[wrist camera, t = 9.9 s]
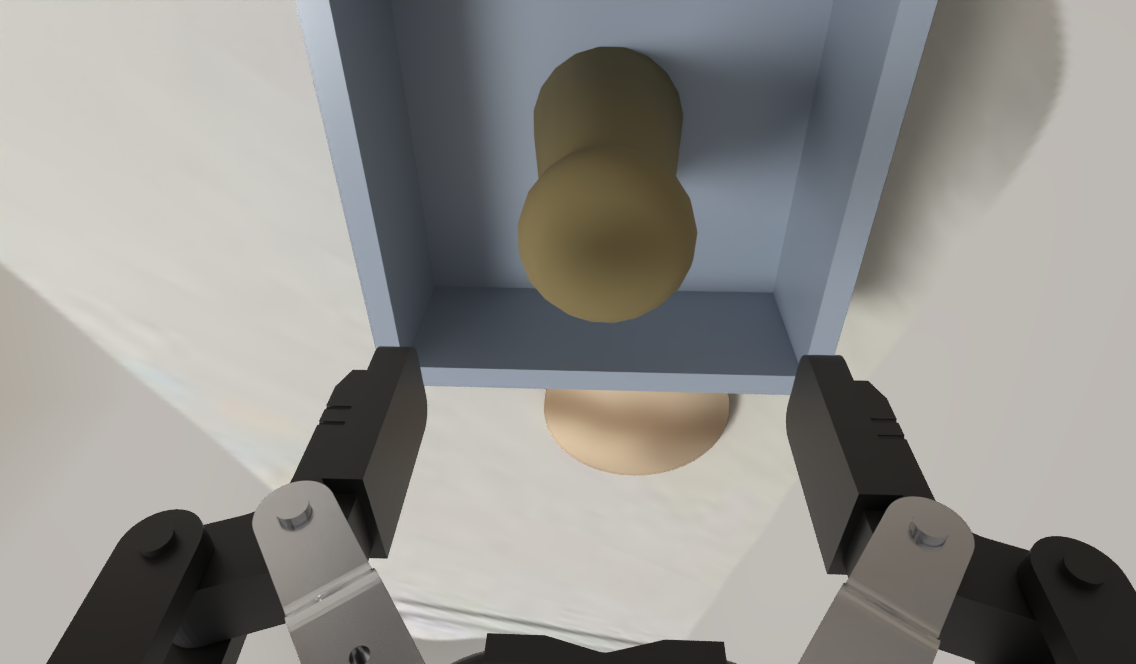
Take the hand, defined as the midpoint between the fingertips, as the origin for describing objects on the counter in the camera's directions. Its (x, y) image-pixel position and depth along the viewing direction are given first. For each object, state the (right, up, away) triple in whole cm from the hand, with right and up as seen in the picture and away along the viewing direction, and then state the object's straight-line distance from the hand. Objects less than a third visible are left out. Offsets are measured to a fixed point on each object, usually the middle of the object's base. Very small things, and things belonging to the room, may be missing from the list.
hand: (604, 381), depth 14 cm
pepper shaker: (+1, +10, +13) cm, 16 cm away
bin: (+1, +10, +14) cm, 17 cm away
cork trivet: (+3, -3, +23) cm, 23 cm away
